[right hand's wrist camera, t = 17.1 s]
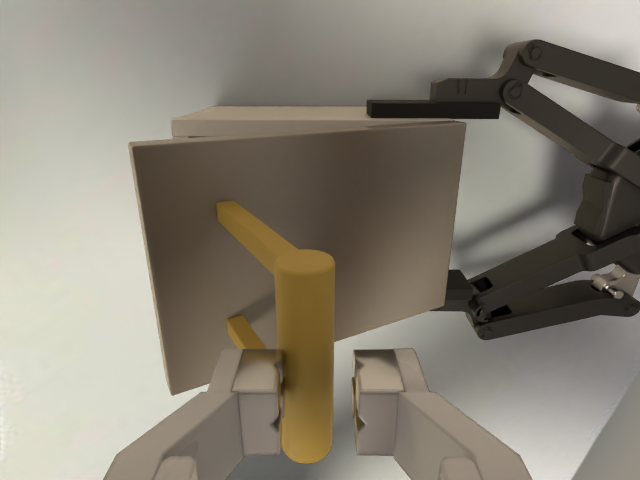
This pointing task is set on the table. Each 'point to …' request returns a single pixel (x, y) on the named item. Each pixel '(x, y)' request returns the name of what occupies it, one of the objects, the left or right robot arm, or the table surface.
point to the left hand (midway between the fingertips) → (365, 203)
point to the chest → (277, 120)
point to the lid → (294, 249)
